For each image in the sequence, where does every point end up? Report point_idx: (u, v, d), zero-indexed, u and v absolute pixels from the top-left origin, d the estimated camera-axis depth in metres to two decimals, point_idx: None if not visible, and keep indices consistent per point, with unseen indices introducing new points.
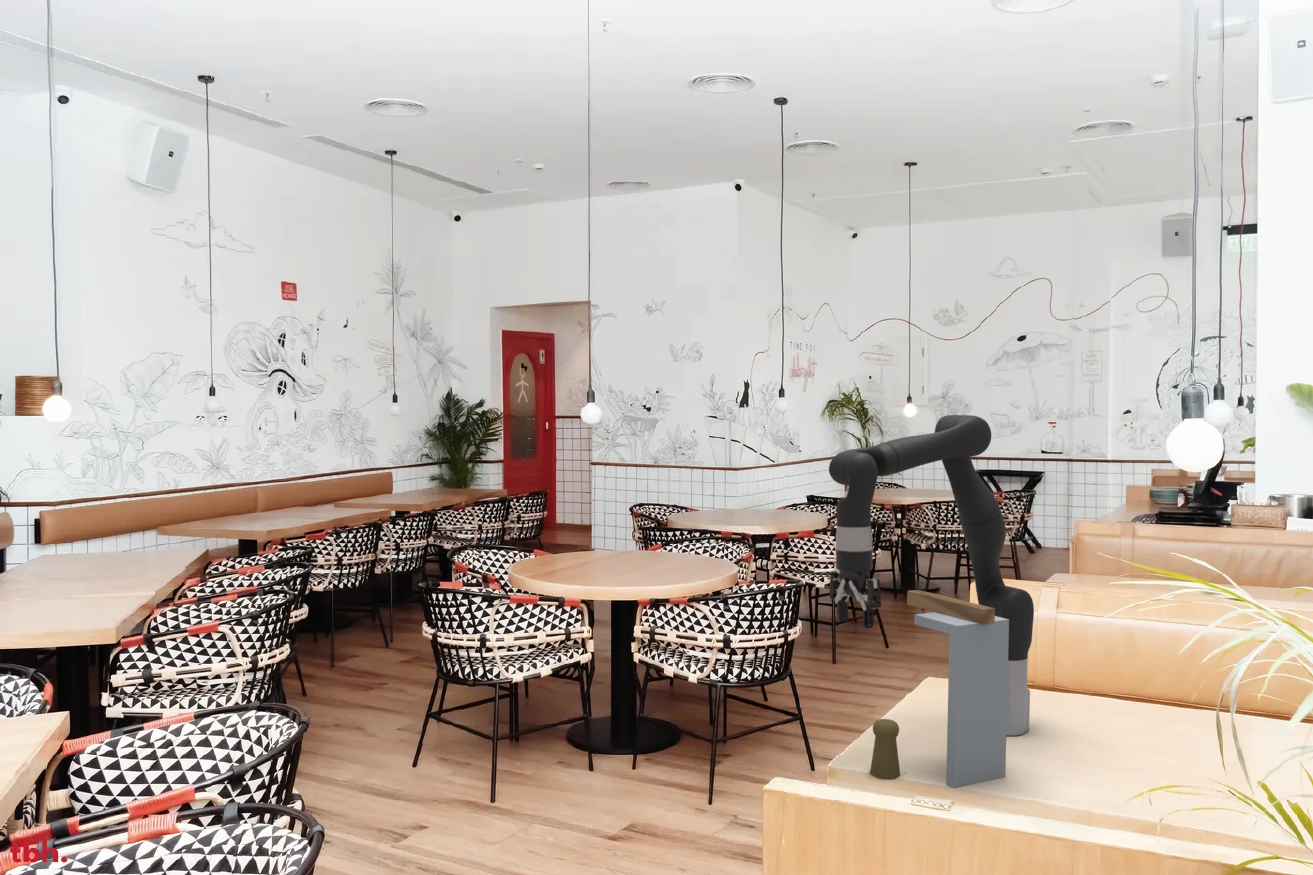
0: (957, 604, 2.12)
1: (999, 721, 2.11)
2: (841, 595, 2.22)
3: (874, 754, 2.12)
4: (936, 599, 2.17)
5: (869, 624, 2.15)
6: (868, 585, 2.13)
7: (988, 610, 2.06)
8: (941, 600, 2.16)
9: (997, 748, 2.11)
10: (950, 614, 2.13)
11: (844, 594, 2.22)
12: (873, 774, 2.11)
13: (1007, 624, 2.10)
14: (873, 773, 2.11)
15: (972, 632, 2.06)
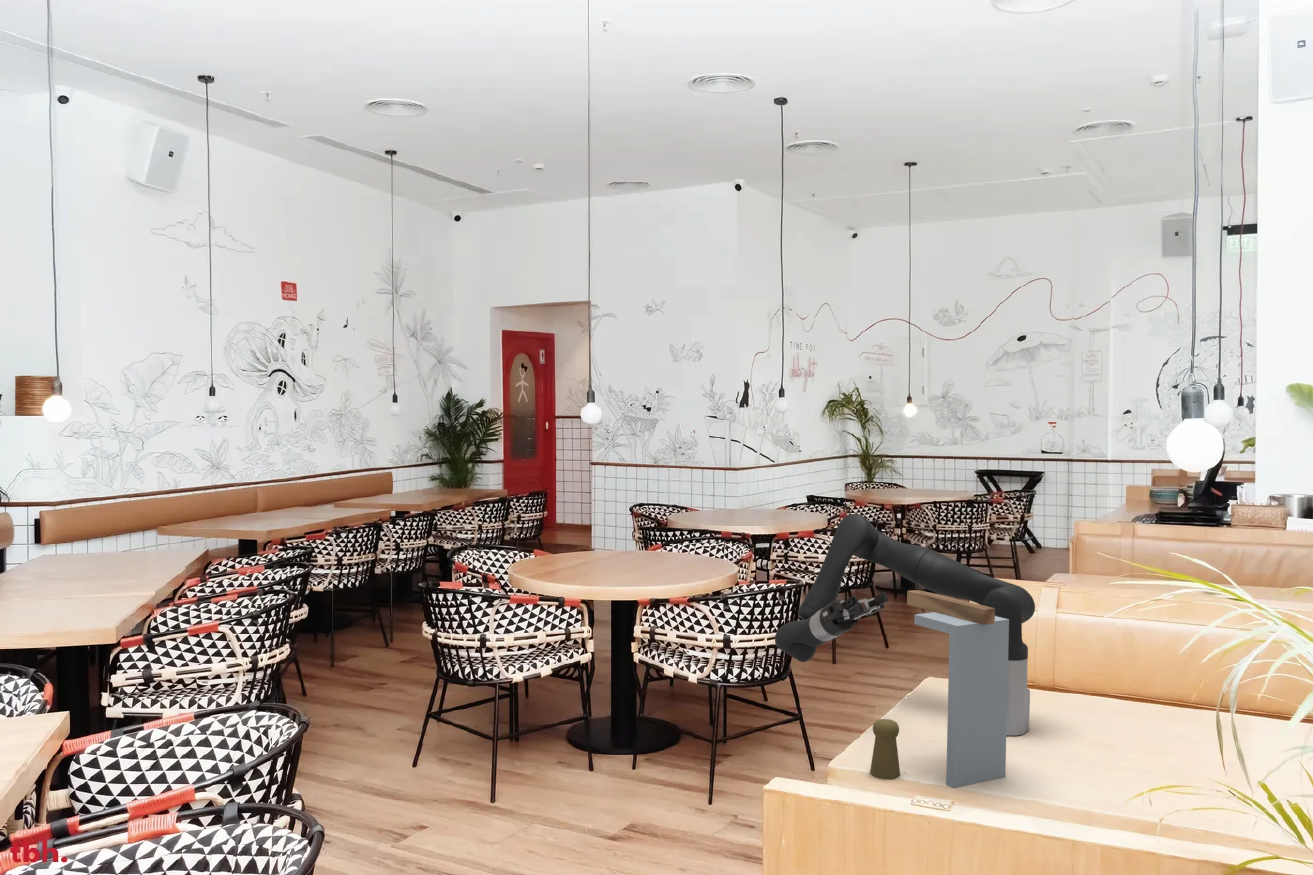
0: (957, 604, 2.12)
1: (999, 721, 2.11)
2: (868, 610, 2.43)
3: (874, 754, 2.12)
4: (936, 599, 2.17)
5: (851, 602, 2.35)
6: (828, 618, 2.41)
7: (988, 610, 2.06)
8: (941, 600, 2.16)
9: (997, 748, 2.11)
10: (950, 614, 2.13)
11: (867, 607, 2.43)
12: (873, 774, 2.11)
13: (1007, 624, 2.10)
14: (873, 773, 2.11)
15: (972, 632, 2.06)
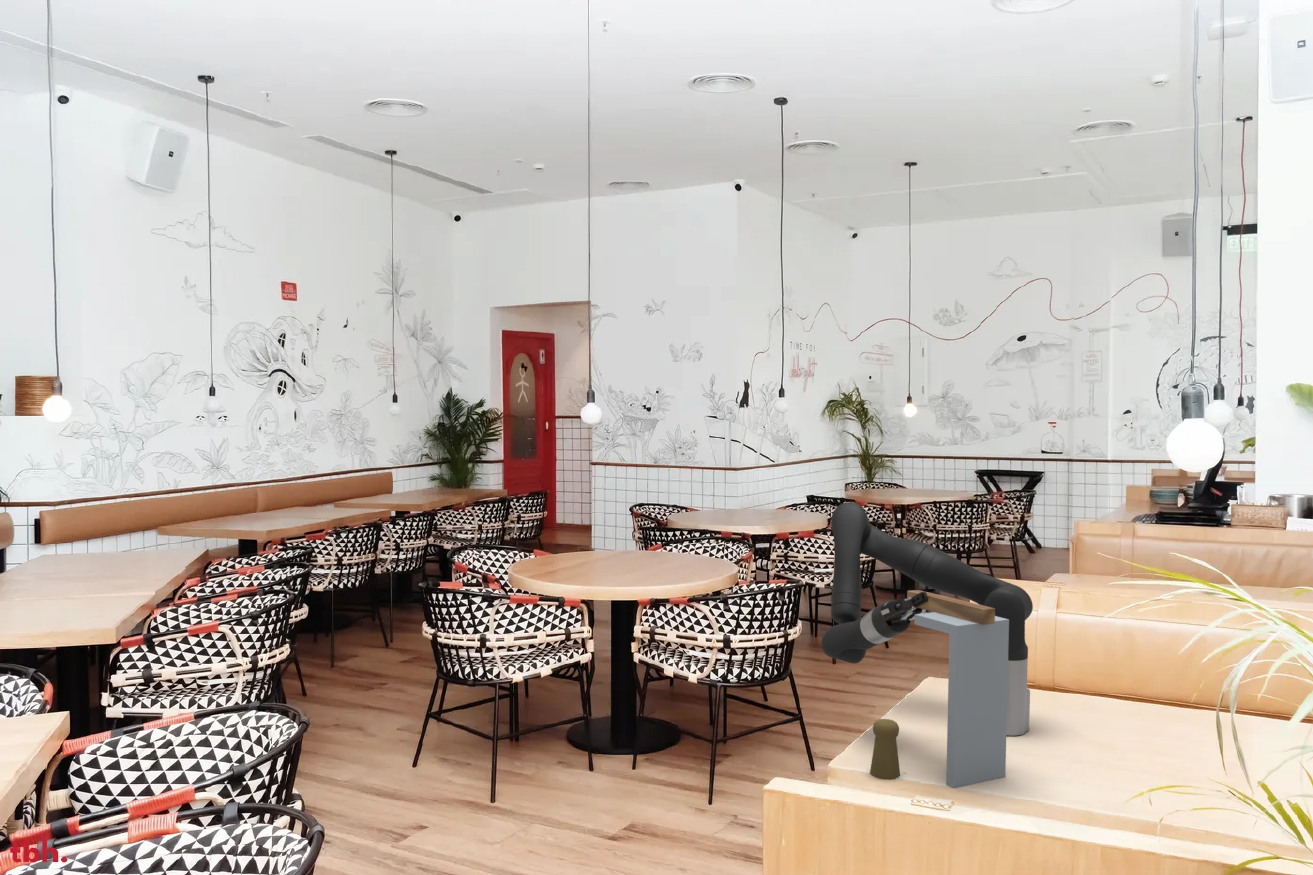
0: (957, 604, 2.12)
1: (999, 721, 2.11)
2: (920, 610, 2.25)
3: (874, 754, 2.12)
4: (936, 599, 2.17)
5: (920, 599, 2.19)
6: (888, 617, 2.24)
7: (988, 610, 2.06)
8: (941, 600, 2.16)
9: (997, 748, 2.11)
10: (950, 614, 2.13)
11: None
12: (873, 774, 2.11)
13: (1007, 624, 2.10)
14: (873, 773, 2.11)
15: (972, 632, 2.06)
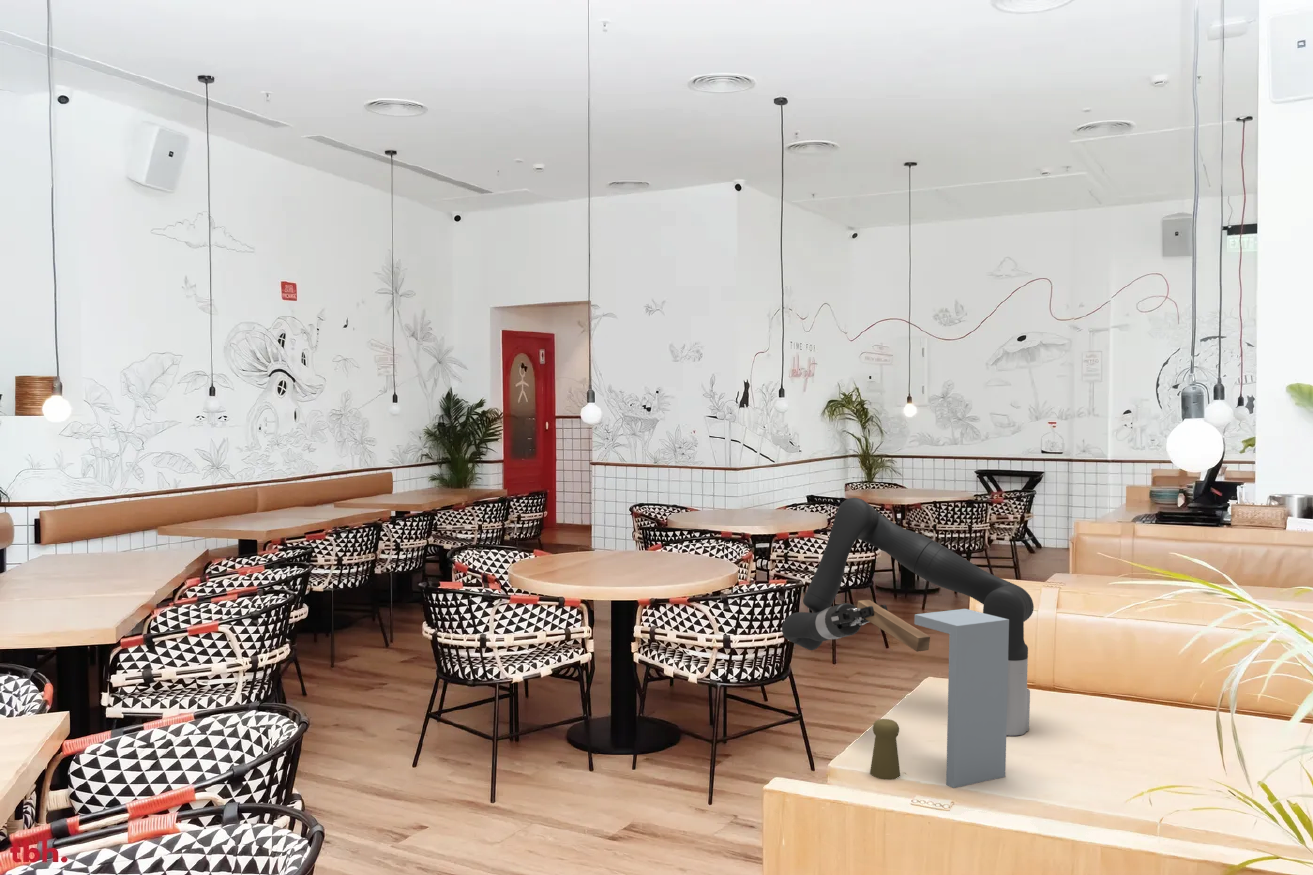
0: (897, 626, 2.24)
1: (999, 721, 2.11)
2: None
3: (874, 754, 2.12)
4: (880, 616, 2.29)
5: (866, 613, 2.32)
6: (837, 623, 2.37)
7: (923, 638, 2.18)
8: (884, 618, 2.28)
9: (997, 748, 2.11)
10: (891, 633, 2.26)
11: None
12: (873, 774, 2.11)
13: (1007, 624, 2.10)
14: (873, 773, 2.11)
15: (972, 632, 2.06)
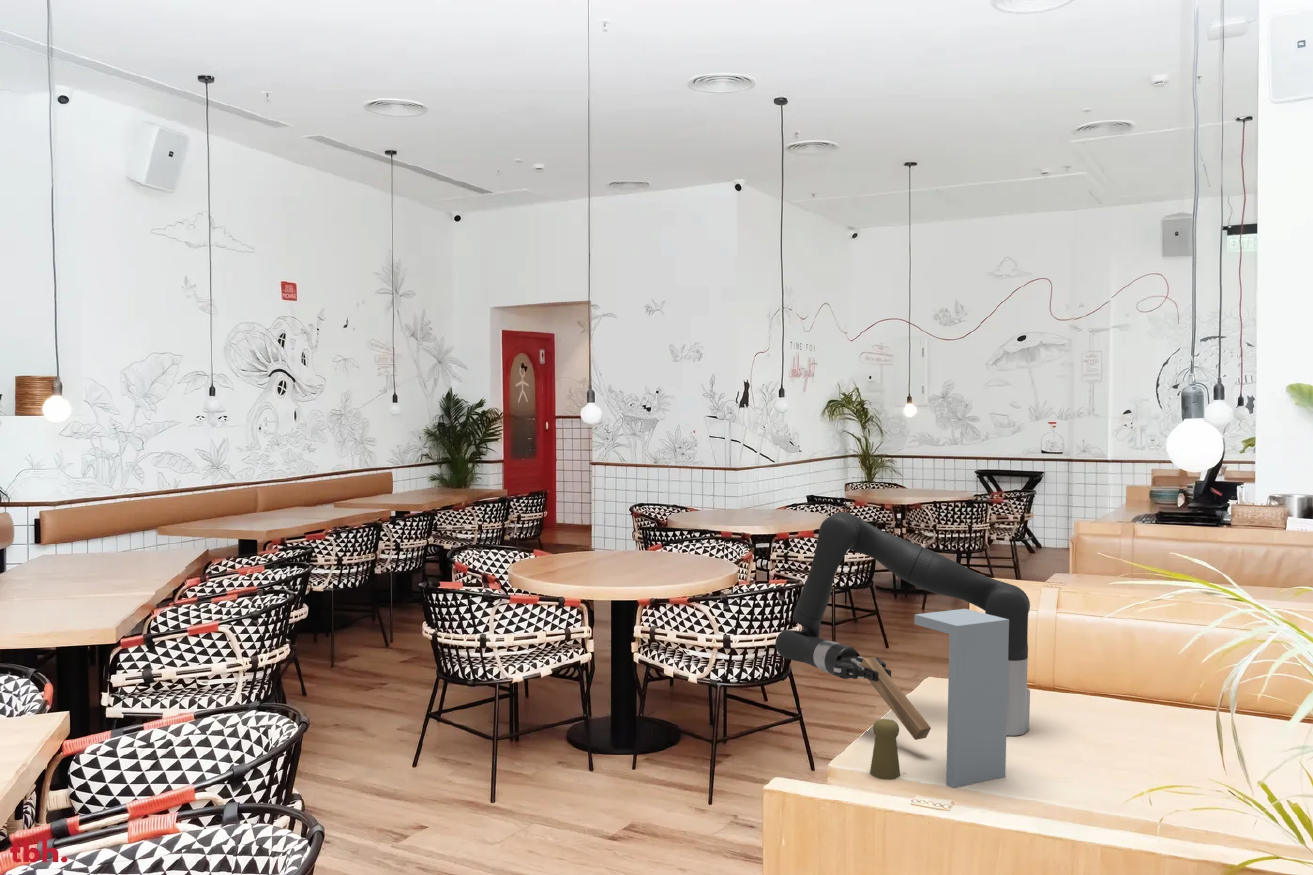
0: (900, 706, 2.26)
1: (999, 721, 2.11)
2: None
3: (874, 754, 2.12)
4: (884, 686, 2.31)
5: (871, 678, 2.33)
6: None
7: (924, 729, 2.22)
8: (888, 691, 2.30)
9: (997, 748, 2.11)
10: (891, 708, 2.29)
11: None
12: (873, 774, 2.11)
13: (1007, 624, 2.10)
14: (873, 773, 2.11)
15: (972, 632, 2.06)
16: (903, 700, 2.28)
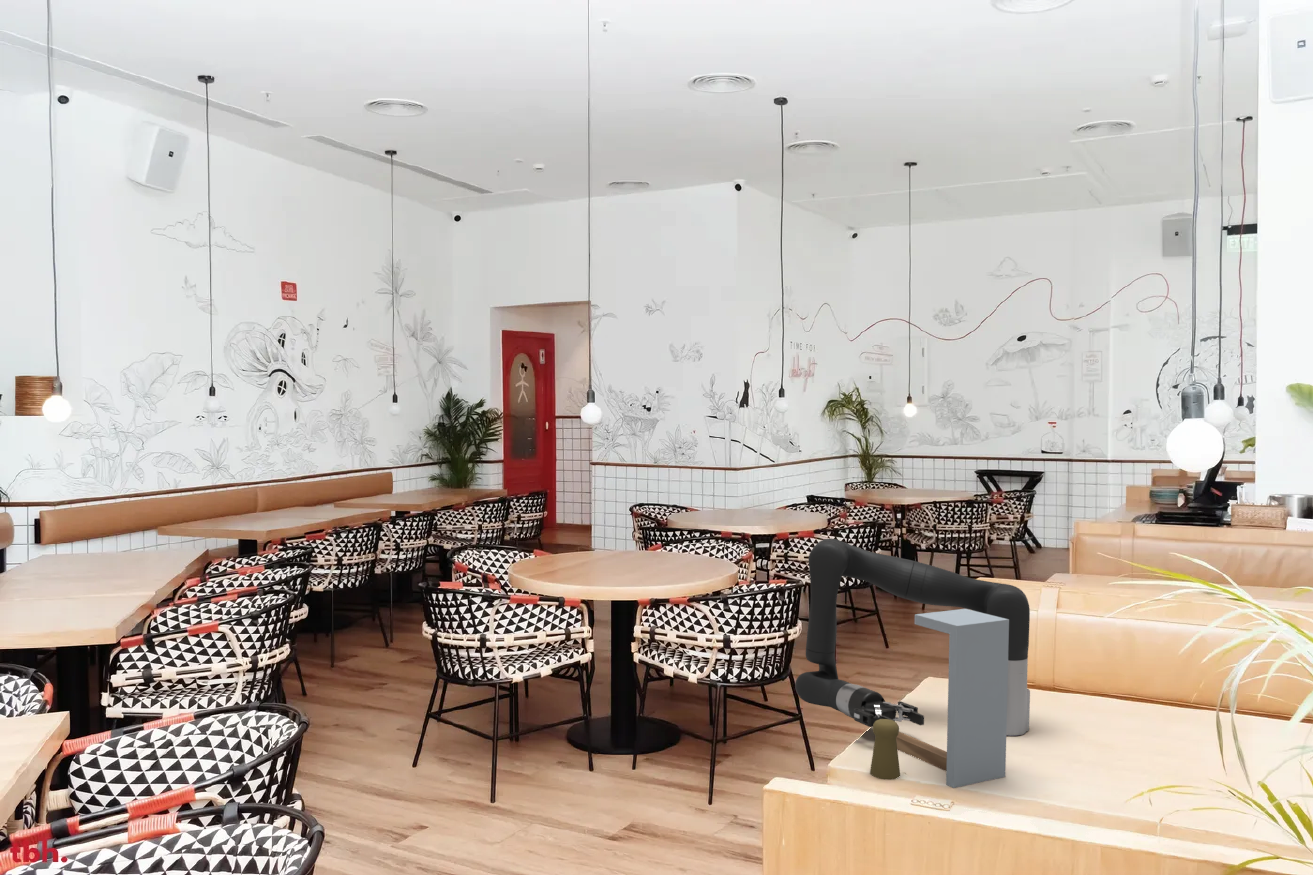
0: (927, 751, 2.19)
1: (999, 721, 2.11)
2: (900, 719, 2.33)
3: (874, 754, 2.12)
4: (907, 743, 2.25)
5: None
6: None
7: None
8: (912, 745, 2.23)
9: (997, 748, 2.11)
10: None
11: (900, 715, 2.33)
12: (873, 774, 2.11)
13: (1007, 624, 2.10)
14: (873, 773, 2.11)
15: (972, 632, 2.06)
16: (929, 747, 2.21)
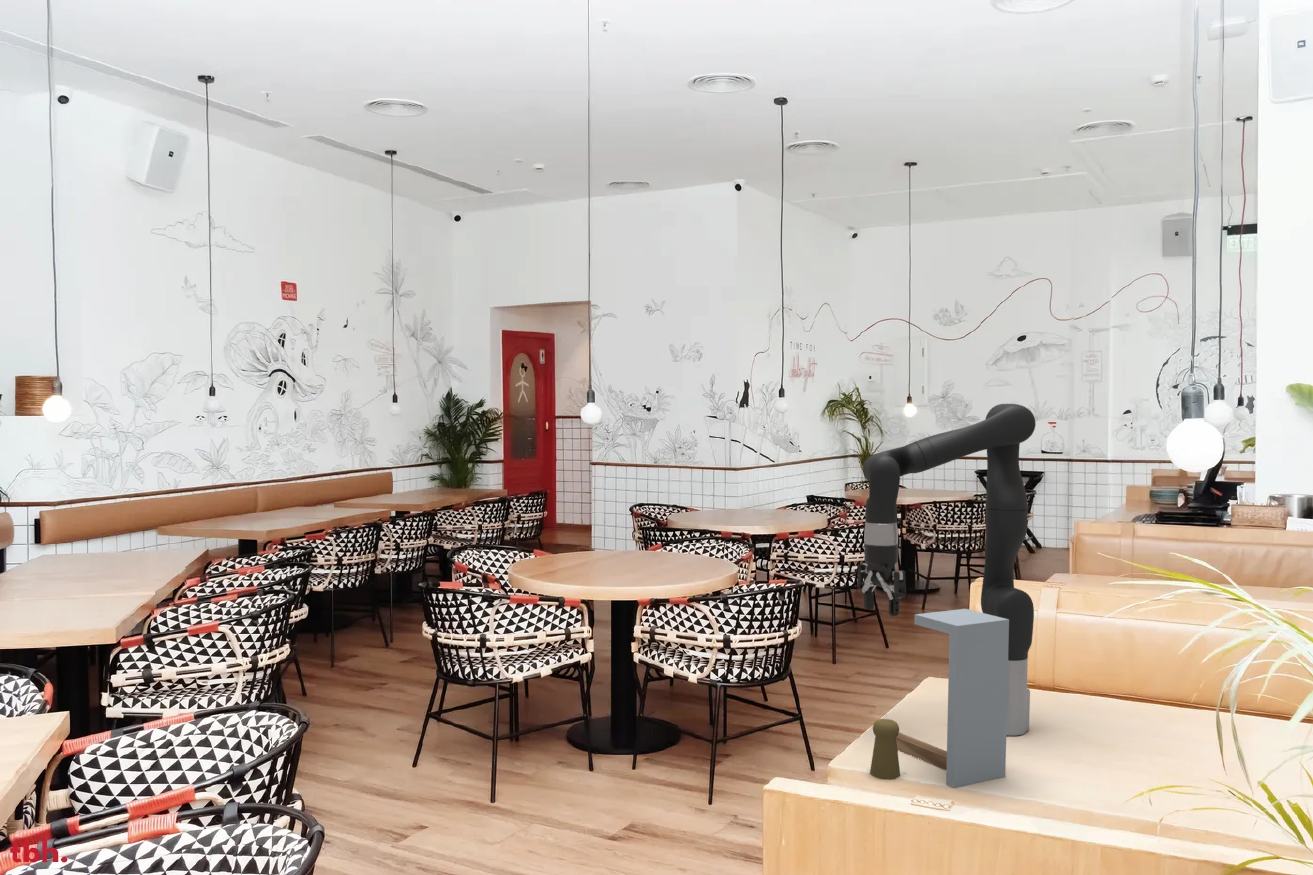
0: (928, 751, 2.19)
1: (999, 721, 2.11)
2: (868, 585, 2.42)
3: (874, 754, 2.12)
4: (907, 743, 2.25)
5: (895, 612, 2.35)
6: (895, 576, 2.34)
7: None
8: (912, 745, 2.23)
9: (997, 748, 2.11)
10: None
11: (871, 585, 2.42)
12: (873, 774, 2.11)
13: (1007, 624, 2.10)
14: (873, 773, 2.11)
15: (972, 632, 2.06)
16: (929, 747, 2.21)
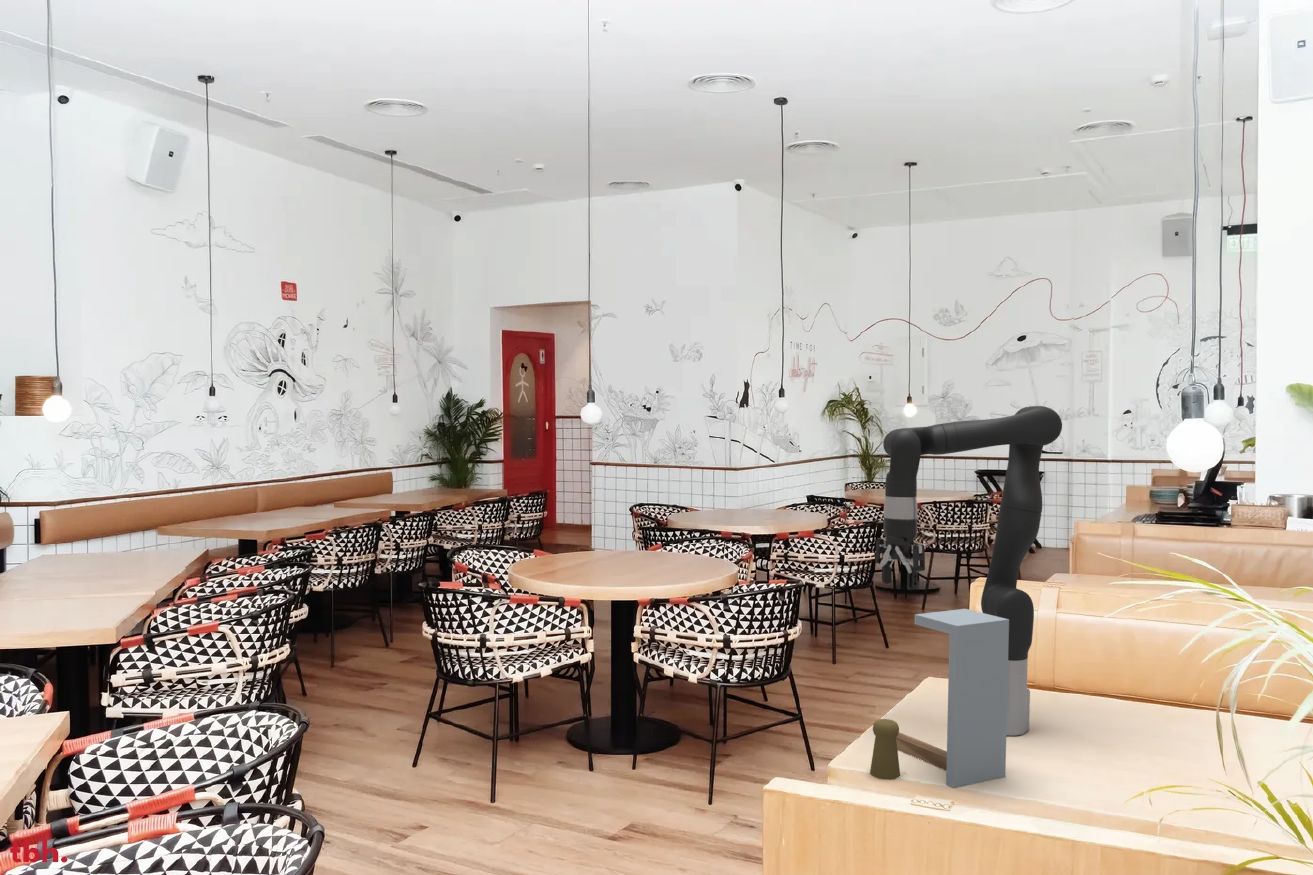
0: (928, 751, 2.19)
1: (999, 721, 2.11)
2: (886, 560, 2.43)
3: (874, 754, 2.12)
4: (907, 743, 2.25)
5: (913, 585, 2.36)
6: (914, 550, 2.35)
7: None
8: (912, 745, 2.23)
9: (997, 748, 2.11)
10: None
11: (889, 559, 2.43)
12: (873, 774, 2.11)
13: (1007, 624, 2.10)
14: (873, 773, 2.11)
15: (972, 632, 2.06)
16: (929, 747, 2.21)
